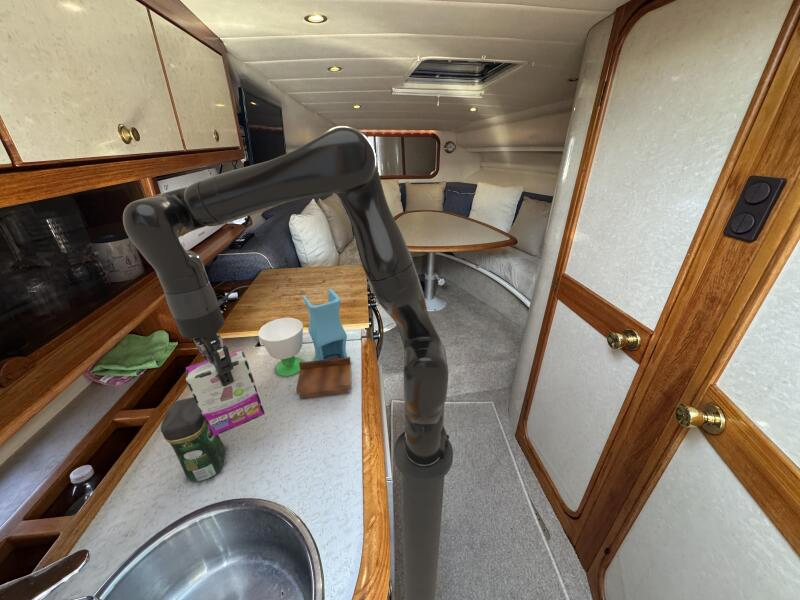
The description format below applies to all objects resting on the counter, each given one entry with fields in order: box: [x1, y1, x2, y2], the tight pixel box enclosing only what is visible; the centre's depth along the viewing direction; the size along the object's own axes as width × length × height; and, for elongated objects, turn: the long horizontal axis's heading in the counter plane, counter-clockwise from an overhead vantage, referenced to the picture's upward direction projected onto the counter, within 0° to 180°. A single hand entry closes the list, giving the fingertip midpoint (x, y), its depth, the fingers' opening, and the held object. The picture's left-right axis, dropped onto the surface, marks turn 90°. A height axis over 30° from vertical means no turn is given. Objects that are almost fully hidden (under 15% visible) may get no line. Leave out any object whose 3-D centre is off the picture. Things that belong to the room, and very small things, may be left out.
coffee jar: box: [160, 396, 226, 483], centre depth 72 cm, size 10×8×19 cm
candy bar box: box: [185, 348, 266, 436], centre depth 68 cm, size 11×5×16 cm, turn 122°
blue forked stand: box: [301, 288, 348, 361], centre depth 104 cm, size 10×10×25 cm
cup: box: [258, 317, 304, 377], centre depth 104 cm, size 14×14×16 cm
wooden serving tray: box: [295, 356, 352, 399], centre depth 98 cm, size 16×10×6 cm, turn 98°
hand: (222, 376), depth 66 cm, fingers closed on candy bar box, 5 cm apart
